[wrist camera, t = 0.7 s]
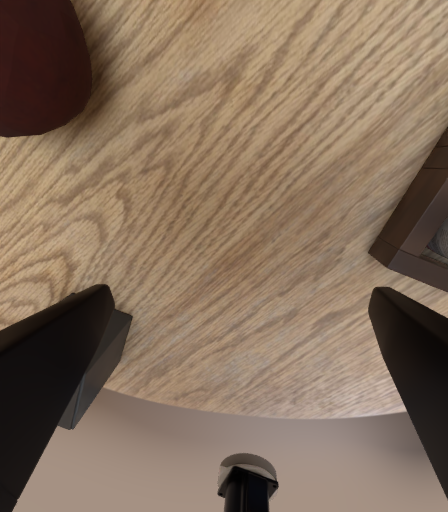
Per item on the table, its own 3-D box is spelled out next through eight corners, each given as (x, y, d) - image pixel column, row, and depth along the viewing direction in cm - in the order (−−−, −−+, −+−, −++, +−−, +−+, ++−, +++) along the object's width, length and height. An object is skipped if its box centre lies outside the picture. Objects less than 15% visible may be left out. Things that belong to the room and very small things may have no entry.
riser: (119, 362, 30) (71, 432, 23) (63, 340, 30) (-5, 403, 22) (132, 315, 28) (84, 376, 20) (72, 292, 28) (-1, 344, 20)
